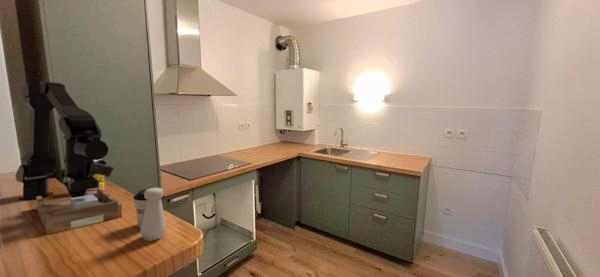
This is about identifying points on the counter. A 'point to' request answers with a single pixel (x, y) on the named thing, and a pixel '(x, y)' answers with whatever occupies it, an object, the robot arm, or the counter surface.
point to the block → (83, 201)
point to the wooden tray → (77, 212)
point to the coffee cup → (140, 206)
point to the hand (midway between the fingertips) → (78, 205)
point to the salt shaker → (153, 215)
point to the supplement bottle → (101, 183)
